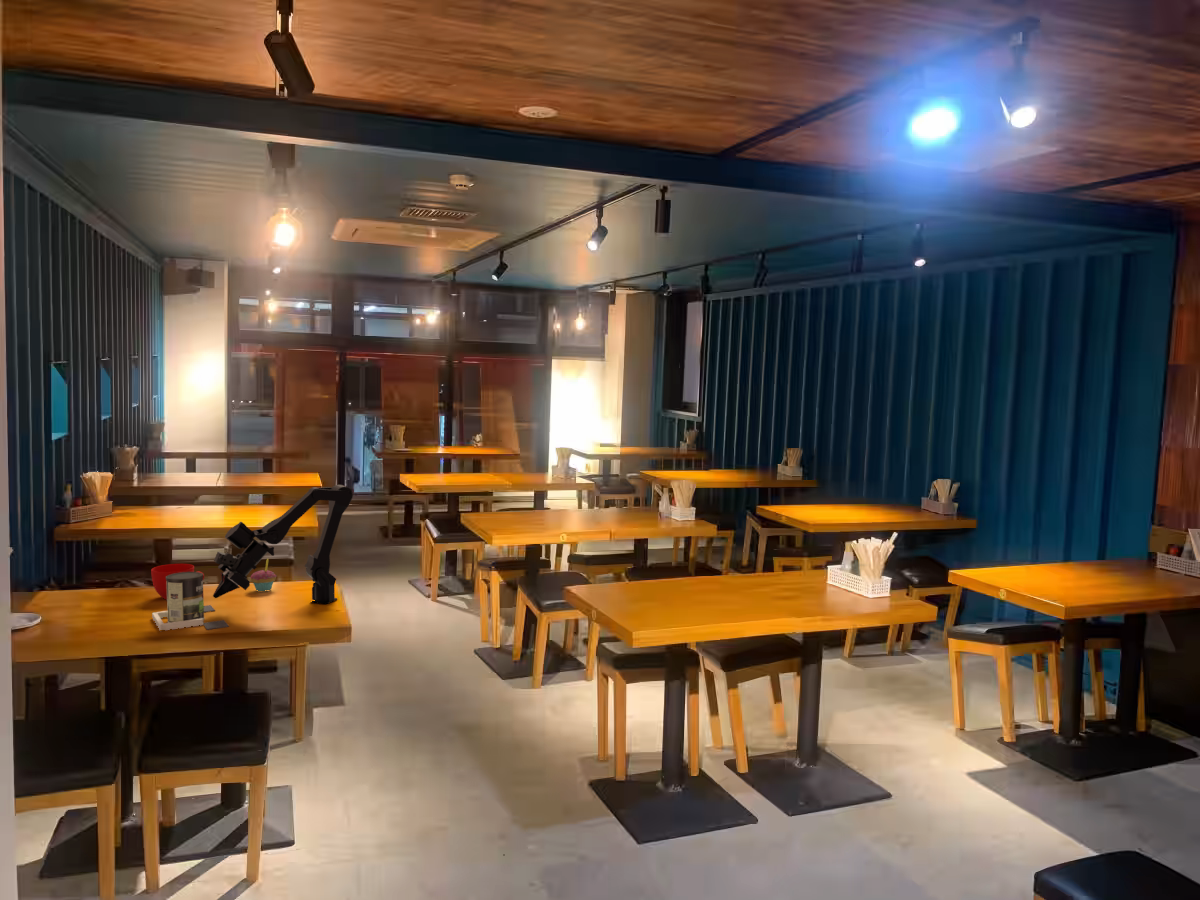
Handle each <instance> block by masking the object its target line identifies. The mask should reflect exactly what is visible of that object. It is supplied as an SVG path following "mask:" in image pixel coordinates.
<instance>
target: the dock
mask: <svg viewBox="0 0 1200 900" xmlns="http://www.w3.org/2000/svg"><path fill="white" fill-rule="evenodd" d="M151 615H152V616H151V618H153V619H152V620H153V622H154V621H155V622H154V623H156V624H155V625H156V627H157V626H158V627H157V628H159V629H158V630H159V631H160V630H165V631H168V630H169V631H170V629H172V630H176V629H178V628H179V629H185V628H184V627H186V628H191V626H193V627H200V626H204V625H203V623H204V620H203V618H200V619H193V620H185V621H178V622H171V623H168V622H165V623H164V621H163V620H162V619H164V618H163V617H167V618H168V611H167V610H162V611H155V612H152V613H151ZM199 625H200V626H199Z"/></svg>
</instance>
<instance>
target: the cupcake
mask: <svg viewBox="0 0 1200 900" xmlns="http://www.w3.org/2000/svg"><path fill="white" fill-rule="evenodd" d="M268 566H269V558H267V559H266V561H265V569H264V570H263V569H261V570H257V571H254V572H253V573H252V574H251V575H250V578H249V581H250V583H252V584H253V586H254V587H255V591H256V590H258V591H265V590H270V589H271V590H272V588H273V587H272V586H273V584H274V583H275V581H276V580H277V574H275V572H273V571H271V570H269V569H268ZM271 590H270V591H271Z"/></svg>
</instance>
